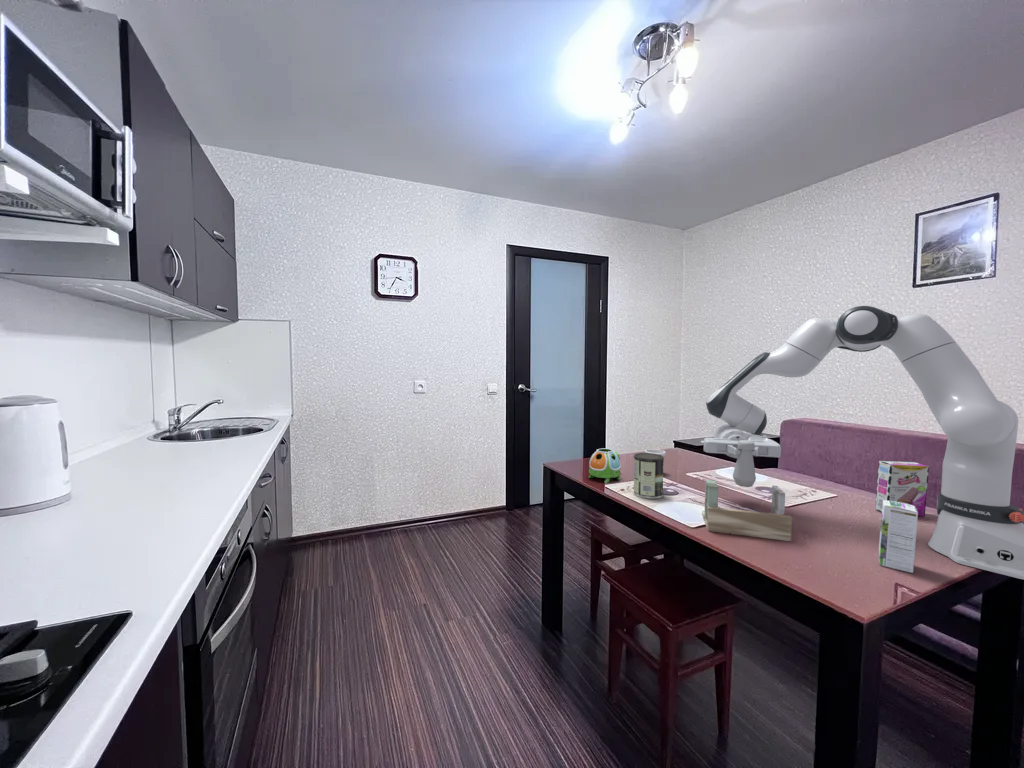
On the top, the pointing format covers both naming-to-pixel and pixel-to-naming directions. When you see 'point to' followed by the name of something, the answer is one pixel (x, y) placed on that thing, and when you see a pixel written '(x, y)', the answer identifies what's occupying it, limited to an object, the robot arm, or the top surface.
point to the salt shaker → (745, 465)
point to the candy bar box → (902, 484)
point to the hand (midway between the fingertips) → (746, 452)
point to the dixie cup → (656, 452)
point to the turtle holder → (605, 464)
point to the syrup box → (898, 536)
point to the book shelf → (747, 517)
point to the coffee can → (648, 475)
